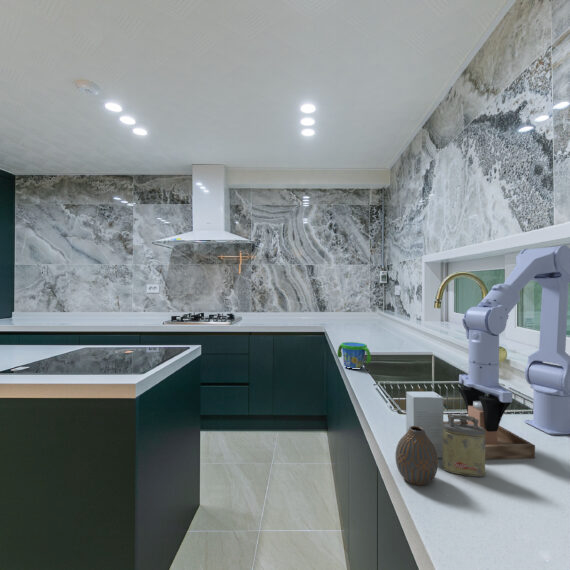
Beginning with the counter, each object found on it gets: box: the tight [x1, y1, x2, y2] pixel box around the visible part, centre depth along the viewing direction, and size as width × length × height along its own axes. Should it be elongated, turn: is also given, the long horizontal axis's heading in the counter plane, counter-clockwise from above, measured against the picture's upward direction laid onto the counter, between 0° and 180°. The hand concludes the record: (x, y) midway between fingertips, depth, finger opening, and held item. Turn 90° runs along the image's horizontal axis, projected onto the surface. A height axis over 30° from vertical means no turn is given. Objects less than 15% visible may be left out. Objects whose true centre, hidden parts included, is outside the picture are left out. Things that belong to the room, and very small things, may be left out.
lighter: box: [441, 413, 486, 478], centre depth 63 cm, size 7×4×10 cm, turn 74°
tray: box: [443, 420, 536, 460], centre depth 75 cm, size 13×13×2 cm
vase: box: [395, 426, 439, 486], centre depth 61 cm, size 7×7×9 cm
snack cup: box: [337, 341, 372, 368], centre depth 146 cm, size 16×10×10 cm
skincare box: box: [405, 391, 444, 459], centre depth 70 cm, size 6×4×12 cm
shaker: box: [467, 401, 498, 445], centre depth 75 cm, size 4×4×8 cm
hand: (482, 425), depth 75 cm, fingers open, 5 cm apart
